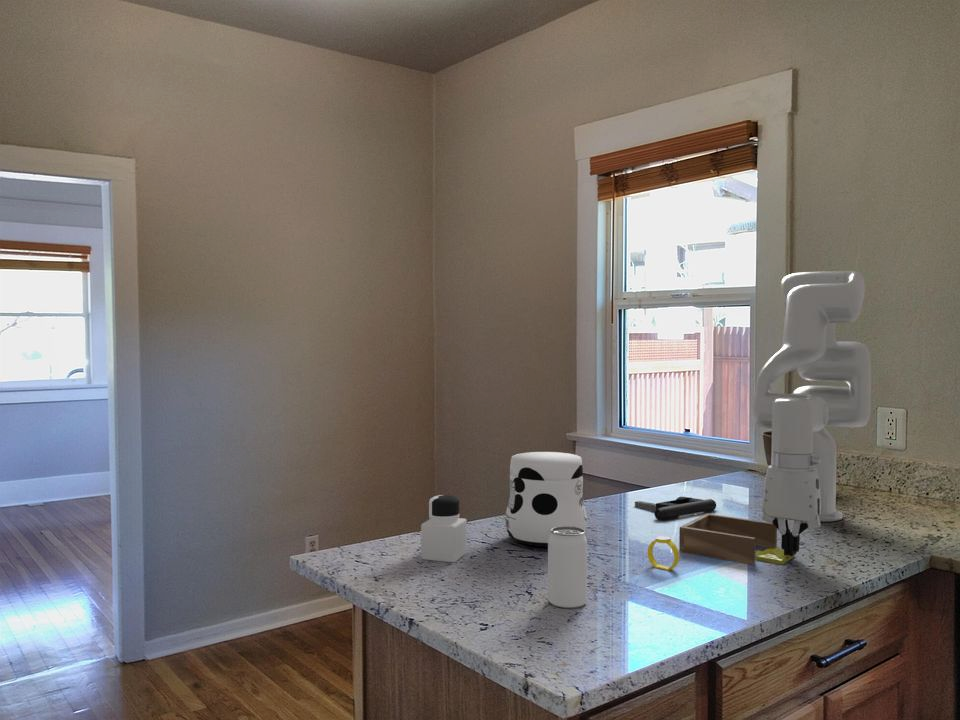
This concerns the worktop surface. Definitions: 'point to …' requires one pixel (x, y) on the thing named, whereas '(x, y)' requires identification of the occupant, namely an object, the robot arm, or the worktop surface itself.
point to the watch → (676, 553)
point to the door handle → (678, 507)
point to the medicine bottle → (444, 531)
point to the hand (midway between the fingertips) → (790, 554)
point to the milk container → (544, 495)
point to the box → (726, 537)
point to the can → (567, 567)
